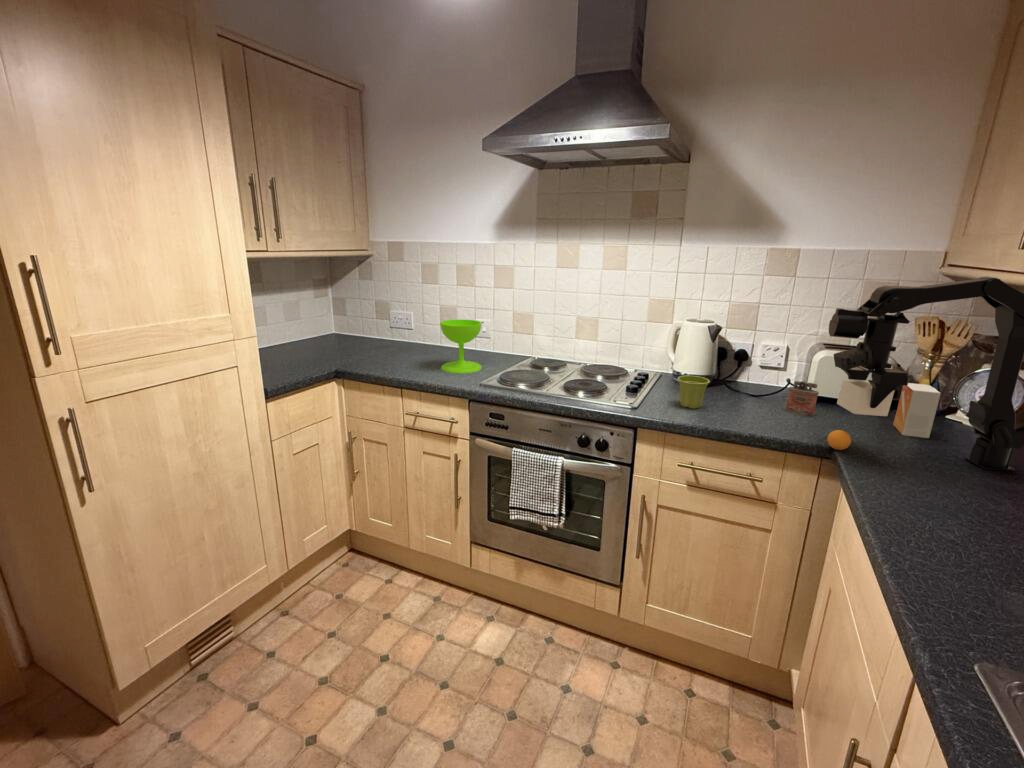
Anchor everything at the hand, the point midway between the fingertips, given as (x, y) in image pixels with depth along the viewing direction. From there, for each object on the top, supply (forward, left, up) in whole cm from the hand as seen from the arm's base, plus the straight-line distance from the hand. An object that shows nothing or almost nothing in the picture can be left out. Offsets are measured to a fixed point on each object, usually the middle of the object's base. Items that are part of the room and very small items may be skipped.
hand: (862, 402), depth 124 cm
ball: (+4, 0, -10) cm, 11 cm away
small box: (-24, -15, -13) cm, 31 cm away
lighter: (0, -28, -13) cm, 31 cm away
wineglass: (+111, -68, -13) cm, 131 cm away
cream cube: (0, 0, -2) cm, 2 cm away
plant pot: (+32, -31, -13) cm, 46 cm away
